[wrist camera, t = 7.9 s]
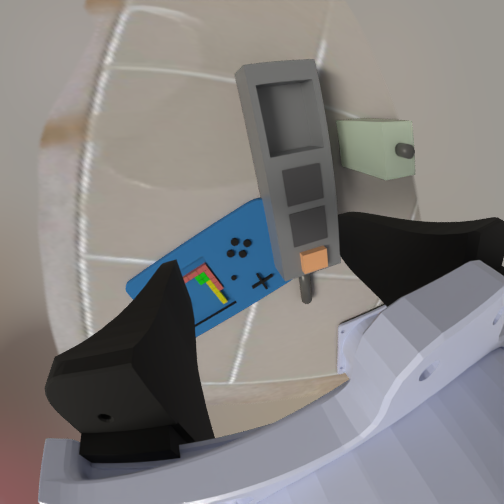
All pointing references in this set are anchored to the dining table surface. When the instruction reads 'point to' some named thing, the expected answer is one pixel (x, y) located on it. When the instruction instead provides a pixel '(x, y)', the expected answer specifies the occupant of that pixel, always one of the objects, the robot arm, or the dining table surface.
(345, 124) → the charger
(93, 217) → the dining table surface
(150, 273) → the handheld gaming device
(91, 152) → the dining table surface
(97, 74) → the dining table surface
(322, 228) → the power strip
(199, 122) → the dining table surface
